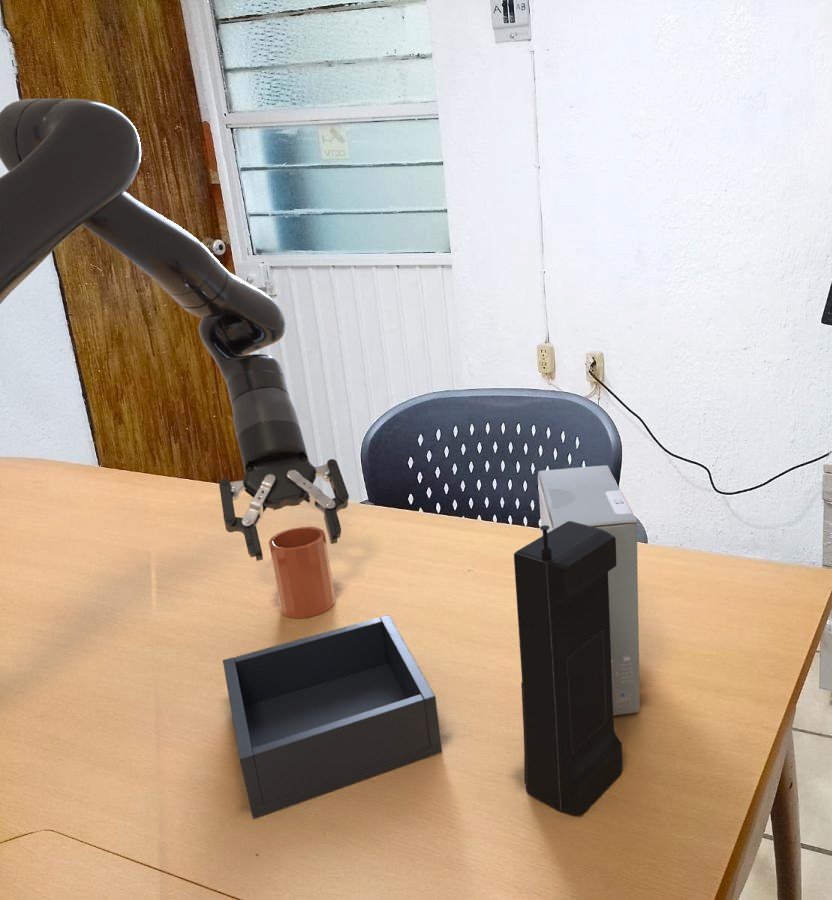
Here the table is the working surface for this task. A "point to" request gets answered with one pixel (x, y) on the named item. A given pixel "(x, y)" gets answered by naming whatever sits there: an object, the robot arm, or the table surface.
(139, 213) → the robot arm
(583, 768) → the portable radio
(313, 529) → the pot
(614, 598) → the hard drive box
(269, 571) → the table surface
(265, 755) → the open box
